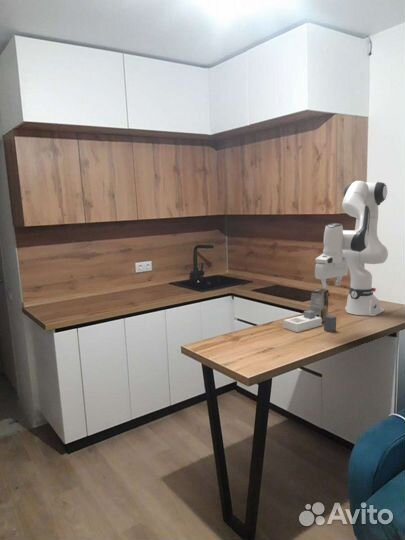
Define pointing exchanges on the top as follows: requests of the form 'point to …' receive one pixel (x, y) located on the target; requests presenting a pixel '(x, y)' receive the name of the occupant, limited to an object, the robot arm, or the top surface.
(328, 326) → the black plug
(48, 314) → the top surface
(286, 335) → the top surface
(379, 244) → the robot arm
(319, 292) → the coffee box
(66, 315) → the top surface
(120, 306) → the top surface
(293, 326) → the white slotted base
